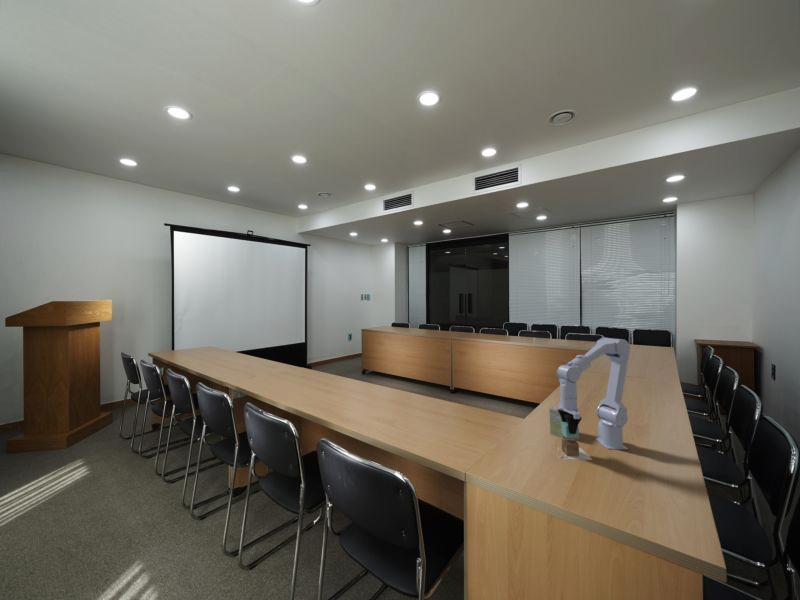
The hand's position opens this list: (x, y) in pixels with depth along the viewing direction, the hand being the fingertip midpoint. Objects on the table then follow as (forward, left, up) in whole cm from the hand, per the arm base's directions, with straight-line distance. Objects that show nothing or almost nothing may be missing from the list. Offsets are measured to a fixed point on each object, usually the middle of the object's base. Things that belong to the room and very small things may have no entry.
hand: (569, 430), depth 127 cm
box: (-20, +4, -9) cm, 22 cm away
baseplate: (0, 0, -9) cm, 9 cm away
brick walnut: (0, 0, -9) cm, 9 cm away
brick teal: (0, 0, -2) cm, 2 cm away
